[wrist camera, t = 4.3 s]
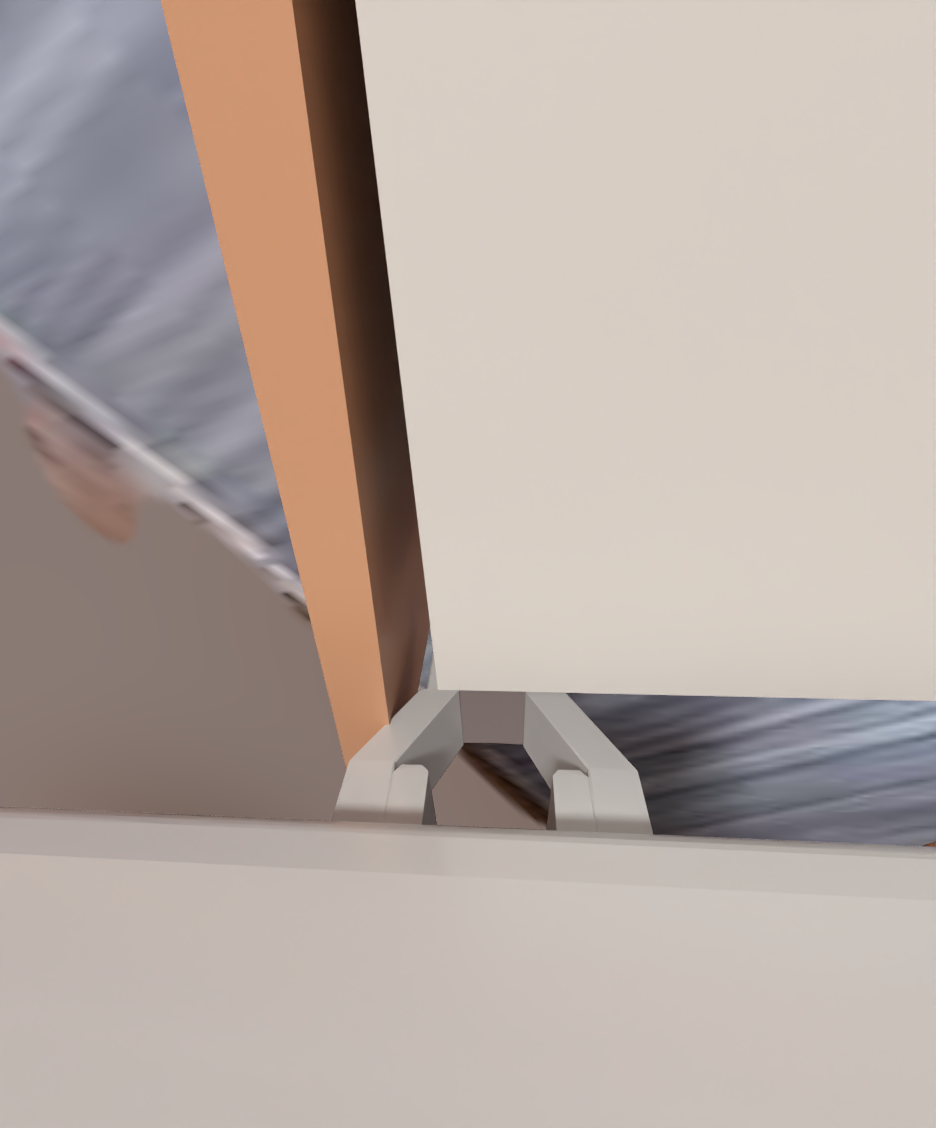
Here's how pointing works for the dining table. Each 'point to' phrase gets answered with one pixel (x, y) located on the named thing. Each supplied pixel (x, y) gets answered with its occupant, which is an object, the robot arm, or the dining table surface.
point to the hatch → (315, 323)
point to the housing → (666, 338)
